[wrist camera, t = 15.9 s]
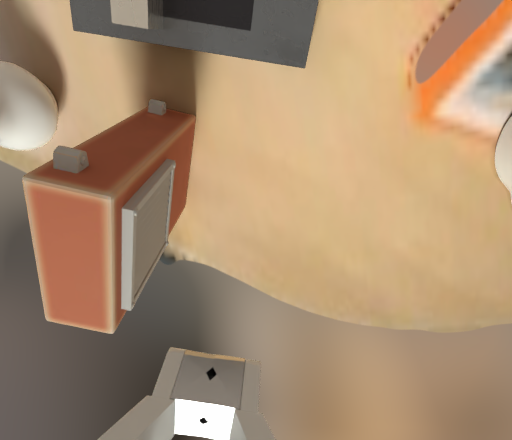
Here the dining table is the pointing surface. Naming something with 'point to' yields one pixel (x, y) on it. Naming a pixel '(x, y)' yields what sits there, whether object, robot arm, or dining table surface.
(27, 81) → the flower vase
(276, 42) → the box
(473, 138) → the dining table surface
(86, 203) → the orange retro radio
